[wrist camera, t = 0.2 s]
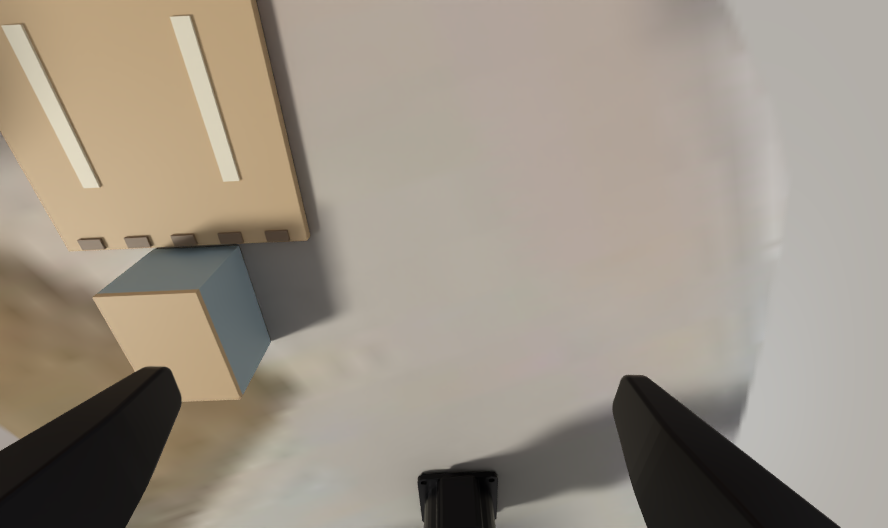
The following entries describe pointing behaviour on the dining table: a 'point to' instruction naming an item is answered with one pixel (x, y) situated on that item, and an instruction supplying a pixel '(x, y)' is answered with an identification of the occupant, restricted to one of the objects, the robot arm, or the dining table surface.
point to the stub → (189, 319)
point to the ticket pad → (148, 122)
